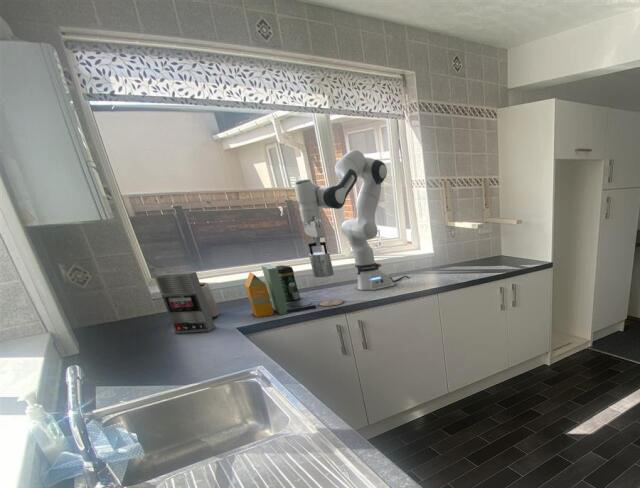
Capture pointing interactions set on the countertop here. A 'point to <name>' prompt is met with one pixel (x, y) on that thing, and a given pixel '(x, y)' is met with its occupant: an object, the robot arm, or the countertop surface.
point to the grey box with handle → (320, 261)
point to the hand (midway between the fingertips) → (317, 246)
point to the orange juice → (258, 296)
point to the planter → (210, 300)
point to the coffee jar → (288, 283)
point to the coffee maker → (281, 293)
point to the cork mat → (331, 303)
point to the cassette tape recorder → (185, 302)
